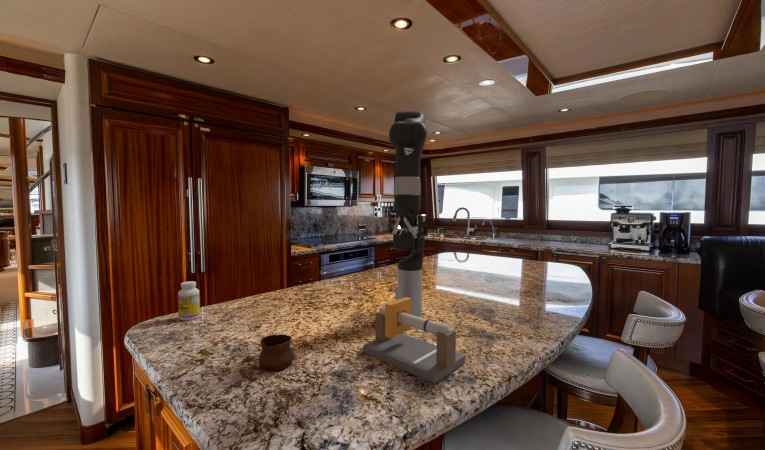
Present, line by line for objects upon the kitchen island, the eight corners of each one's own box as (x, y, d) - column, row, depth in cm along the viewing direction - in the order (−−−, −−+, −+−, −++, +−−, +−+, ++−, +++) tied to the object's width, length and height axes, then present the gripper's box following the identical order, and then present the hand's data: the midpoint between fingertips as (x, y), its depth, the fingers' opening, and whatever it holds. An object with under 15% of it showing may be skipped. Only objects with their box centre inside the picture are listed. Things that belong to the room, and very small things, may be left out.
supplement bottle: (174, 319, 118) (173, 283, 117) (191, 313, 124) (190, 279, 123) (187, 322, 115) (186, 285, 115) (204, 316, 122) (203, 281, 121)
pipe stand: (362, 352, 93) (363, 311, 92) (395, 337, 103) (395, 300, 103) (434, 384, 77) (435, 335, 76) (465, 363, 87) (466, 319, 86)
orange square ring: (384, 336, 91) (385, 303, 90) (405, 327, 97) (406, 297, 97) (390, 338, 89) (390, 305, 89) (411, 329, 96) (411, 298, 95)
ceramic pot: (238, 389, 74) (238, 358, 74) (238, 356, 91) (238, 331, 90) (318, 375, 81) (319, 347, 81) (305, 347, 98) (305, 323, 97)
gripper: (381, 193, 98) (381, 248, 99) (415, 192, 87) (414, 254, 88) (400, 194, 103) (400, 246, 104) (434, 193, 92) (433, 251, 93)
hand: (406, 249), depth 96 cm, fingers open, 8 cm apart
